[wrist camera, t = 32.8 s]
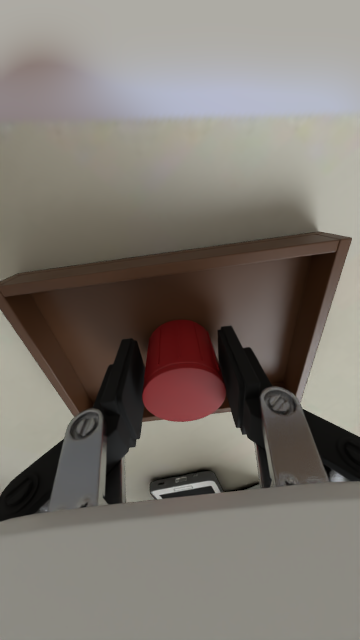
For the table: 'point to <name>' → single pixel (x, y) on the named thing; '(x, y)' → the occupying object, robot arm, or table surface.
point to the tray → (179, 308)
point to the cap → (182, 373)
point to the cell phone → (186, 485)
